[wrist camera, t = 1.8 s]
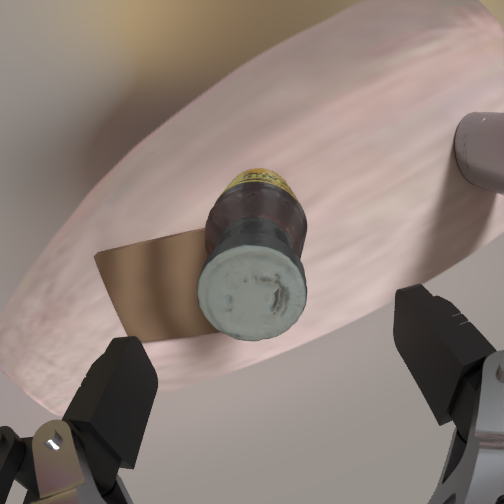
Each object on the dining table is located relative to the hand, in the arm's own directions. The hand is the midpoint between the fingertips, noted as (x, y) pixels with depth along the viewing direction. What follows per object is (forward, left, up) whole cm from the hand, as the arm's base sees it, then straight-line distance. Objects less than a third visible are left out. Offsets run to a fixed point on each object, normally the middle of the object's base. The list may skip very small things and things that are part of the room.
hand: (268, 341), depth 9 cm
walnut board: (+12, +8, -22) cm, 26 cm away
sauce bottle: (0, 0, -22) cm, 22 cm away
